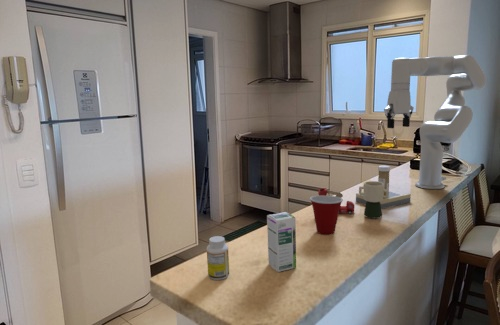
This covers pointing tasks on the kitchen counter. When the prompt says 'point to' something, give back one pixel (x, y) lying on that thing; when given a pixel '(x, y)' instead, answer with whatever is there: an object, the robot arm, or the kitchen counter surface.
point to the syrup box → (281, 241)
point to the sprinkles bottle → (384, 176)
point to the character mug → (373, 198)
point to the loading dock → (388, 199)
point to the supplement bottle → (217, 258)
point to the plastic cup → (326, 213)
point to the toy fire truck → (343, 209)
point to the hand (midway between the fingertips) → (398, 127)
